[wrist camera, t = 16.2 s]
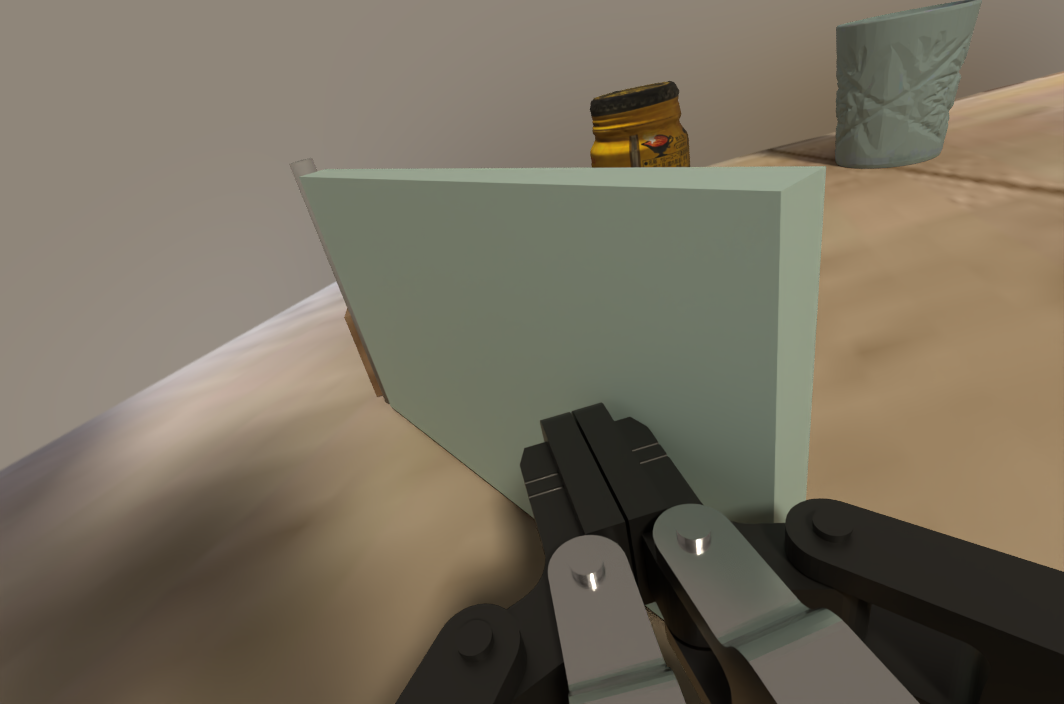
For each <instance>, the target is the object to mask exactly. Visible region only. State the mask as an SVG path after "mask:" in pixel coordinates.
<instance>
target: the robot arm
mask: <svg viewBox="0 0 1064 704" xmlns="http://www.w3.org/2000/svg"><path fill="white" fill-rule="evenodd" d="M540 426H541V430H542V434H543V438H544V442H543V443H540V444H536V445H533V446H529V447H526V448H524V451H523V455H522V458H521V462H520V468H521V472H522V476H523V479H524V483H525V487H526V490H527V494H528V497H529V501H530V505H531V508H532V512H533V516H534V519H535V522H536V526H537V529H538V533H539V536H540V540H541V543H542V547H543V550H544V554H545V568H544V572H543V574H542V577H541V579H540V580H539V582H538V584H537V585H536V586H535V588H534V589H533V590H532V591H531V592H530V593H529V594H528V595H526V596H525V597H524V598H522V599H521V600H520V601H518V602H517V603H515V604H514V605H512V606H511V607H509V608H508V609H507V610H506V609H504V608H502V607H500V606H498V605H494V604H477V605H474V606H470V607H468V608H466V609H463V610H462V611H460V612H459V613H457V614H456V615H454V616H453V617H452V618H451V619H450V620H449V621H448V622H447V623H446V624H445V625H444V627H443V628H442V630H441V631H440V633H439V634H438V636H437V638H436V639H435V641H434V642H433V644H432V646H431V647H430V649H429V650H428V652H427V654H426V655H425V657H424V658H423V660H422V662H421V663H420V665H419V666H418V668H417V670H416V671H415V673H414V674H413V676H412V678H411V679H410V681H409V682H408V684H407V686H406V687H405V689H404V690H403V692H402V694H401V695H400V697H399V698H398V700H397V702H396V703H395V704H686V703H685V700H684V697H683V694H682V692H681V689H680V687H679V684H678V682H677V679H676V677H675V675H674V673H673V671H672V669H671V668H670V667H667V665H666V663H665V661H664V659H663V656H662V653H661V651H660V648H659V645H658V642H657V640H656V637H655V634H654V631H653V629H652V626H651V623H650V620H649V617H648V615H647V612H646V609H645V606H644V605H647V604H650V603H653V602H656V604H657V606H658V608H659V610H660V612H661V614H662V616H663V618H664V624H665V632H666V636H667V639H668V641H669V644H670V646H671V647H672V649H673V651H674V653H675V654H676V656H677V658H678V660H679V662H680V663H681V665H682V667H683V669H684V671H685V672H686V674H687V676H688V678H689V680H690V681H691V683H692V685H693V687H694V688H695V690H696V692H697V694H698V696H699V697H700V699H701V701H702V703H703V704H1064V572H1062V571H1059V570H1056V569H1053V568H1050V567H1047V566H1043V565H1040V564H1037V563H1034V562H1031V561H1028V560H1024V559H1021V558H1018V557H1015V556H1012V555H1009V554H1005V553H1002V552H999V551H996V550H993V549H990V548H987V547H983V546H980V545H977V544H974V543H971V542H968V541H964V540H961V539H958V538H955V537H952V536H949V535H945V534H942V533H939V532H936V531H933V530H930V529H927V528H923V527H920V526H917V525H914V524H911V523H908V522H904V521H901V520H898V519H895V518H892V517H889V516H885V515H882V514H879V513H876V512H873V511H870V510H867V509H863V508H860V507H857V506H854V505H851V504H848V503H844V502H841V501H837V500H832V499H820V498H819V499H810V500H805V501H803V502H800V503H798V504H796V505H795V506H794V507H792V508H791V509H790V511H789V512H788V514H787V516H786V520H785V523H760V524H746V523H738V522H734V521H730V520H729V519H728V518H727V517H726V516H725V515H723V514H722V513H721V512H719V511H717V510H715V509H713V508H711V507H708V506H705V505H703V504H702V502H701V501H700V500H699V498H698V497H697V496H696V494H695V493H694V491H693V490H692V488H691V487H690V486H689V484H688V483H687V481H686V480H685V479H684V477H683V476H682V474H681V473H680V472H679V470H678V469H677V467H676V466H675V465H674V463H673V462H672V460H671V459H670V457H668V456H667V453H666V452H665V450H664V449H663V448H662V446H661V445H660V444H659V443H658V441H657V439H656V438H655V436H654V435H653V433H652V432H651V431H650V429H649V428H648V427H647V426H646V425H644V424H642V423H640V422H639V421H637V420H635V419H634V418H632V417H627V418H624V419H620V420H617V421H614V420H613V418H612V417H611V415H610V413H609V412H608V410H607V409H606V407H605V405H604V404H603V403H602V402H601V403H597V404H594V405H590V406H587V407H583V408H580V409H577V410H573V411H572V412H571V413H570V412H567V413H563V414H560V415H557V416H553V417H550V418H546V419H543V420H540Z"/></svg>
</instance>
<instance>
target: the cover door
mask: <svg viewBox="0 0 1064 704" xmlns="http://www.w3.org/2000/svg"><path fill="white" fill-rule="evenodd" d="M289 165H290V167H291V170H292V172H293V174H294V177H295V180H296V182H297V184H298V187H299V189H300V192H301V194H302V197H303V199H304V202H305V204H306V207H307V209H308V212H309V214H310V217H311V219H312V221H313V224H314V226H315V229H316V231H317V234H318V236H319V239H320V241H321V243H322V246H323V249H324V251H325V254H326V256H327V259H328V261H329V264H330V266H331V268H332V271H333V273H334V276H335V278H336V281H337V283H338V286H339V288H340V291H341V293H342V296H343V298H344V301H345V303H346V306H347V308H348V310H349V313H350V315H351V318H352V320H353V323H354V325H355V328H356V330H357V333H358V335H359V338H360V340H361V343H362V345H363V348H364V350H365V352H366V355H367V357H368V360H369V362H370V365H371V367H372V370H373V372H374V375H375V377H376V380H377V382H378V385H379V387H380V390H381V392H382V394H383V397H384V399H385V402H386V403H390V405H391V407H392V408H394V409H395V410H396V411H397V412H399V413H400V414H401V415H403V416H404V417H405V418H406V419H408V420H409V421H410V422H412V423H413V424H414V425H415V426H417V427H418V428H419V429H420V430H422V431H423V432H424V433H426V434H427V435H428V436H429V437H431V438H432V439H433V440H435V441H436V442H437V443H438V444H440V445H441V446H442V447H443V448H445V449H446V450H447V451H449V452H450V453H451V454H452V455H454V456H455V457H456V458H458V459H459V460H460V461H461V462H463V463H464V464H465V465H466V466H468V467H469V468H470V469H472V470H473V471H474V472H475V473H477V474H478V475H479V476H481V477H482V478H483V479H484V480H486V481H487V482H488V483H489V484H491V485H492V486H493V487H495V488H496V489H497V490H498V491H500V492H501V493H502V494H504V495H505V496H506V497H507V498H509V499H510V500H511V501H512V502H514V503H515V504H516V505H518V506H519V507H520V508H521V509H523V510H524V511H525V512H527V513H528V514H529V515H530V516H532V517H533V518H534V516H533V512H532V508H531V505H530V501H529V497H528V494H527V490H526V487H525V483H524V479H523V476H522V472H521V468H520V462H521V458H522V455H523V451H524V448H526V447H529V446H533V445H536V444H540V443H543V442H544V438H543V434H542V430H541V426H540V420H543V419H546V418H550V417H553V416H557V415H560V414H563V413H567V412H570V413H571V412H572V411H573V410H577V409H580V408H583V407H587V406H590V405H594V404H597V403H601V402H602V403H603V404H604V405H605V407H606V409H607V410H608V412H609V413H610V415H611V417H612V418H613V420H614V421H617V420H620V419H624V418H627V417H632V418H634V419H635V420H637V421H639V422H640V423H642V424H644V425H646V426H647V427H648V428H649V429H650V431H651V432H652V433H653V435H654V436H655V438H656V439H657V441H658V443H659V444H660V445H661V446H662V448H663V449H664V450H665V452H666V453H667V456H668V457H670V459H671V460H672V462H673V463H674V465H675V466H676V467H677V469H678V470H679V472H680V473H681V474H682V476H683V477H684V479H685V480H686V481H687V483H688V484H689V486H690V487H691V488H692V490H693V491H694V493H695V494H696V496H697V497H698V498H699V500H700V501H701V502H702V504H703V505H705V506H708V507H711V508H713V509H715V510H717V511H719V512H721V513H722V514H723V515H725V516H726V517H727V518H728V519H729V520H730V521H734V522H738V523H746V524H760V523H785V520H786V516H787V514H788V512H789V511H790V509H791V508H792V507H794V506H795V505H796V504H798V503H800V502H803V501H805V500H806V489H807V472H808V456H809V439H810V423H811V406H812V390H813V373H814V357H815V340H816V324H817V308H818V291H819V275H820V258H821V242H822V225H823V209H824V192H825V176H826V166H815V167H634V168H478V169H477V168H464V169H463V168H461V169H456V168H454V169H325V170H321V171H318V172H317V169H316V167H315V164H314V162H313V159H312V158H311V159H305V160H301V161H297V162H294V163H291V164H289ZM645 606H647V607H648V608H649V609H650V610H652V611H653V612H654V613H656V614H657V615H658V616H659V617H661V618H662V619H663V620H664V618H663V616H662V614H661V612H660V610H659V608H658V606H657V604H656V602H653V603H650V604H647V605H645Z"/></svg>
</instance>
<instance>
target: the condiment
mask: <svg viewBox="0 0 1064 704" xmlns="http://www.w3.org/2000/svg"><path fill="white" fill-rule="evenodd" d="M678 94H679V89H678V88H677V86H676V84H675V83H674V82H672V81H668V82H662V83H655V84H650V85H645V86H640V87H635V88H630V89H626V90H622V91H615V92H613V93H609V94H606V95H602V96H599V97H596V98H594V99H593V101H591V107H590V111H591V116H592V119H593V125H594V126H593V134H594V135H595V142H594V144H593V146H592V148H591V152H590V153H591V160H592V168H634V167H690V156H689V138H688V134H687V132H686V130H685V129H684V128H683V127H682V125H681V124H680V122H679V118H680V116H681V111H680V106H679V102H678Z"/></svg>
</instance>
